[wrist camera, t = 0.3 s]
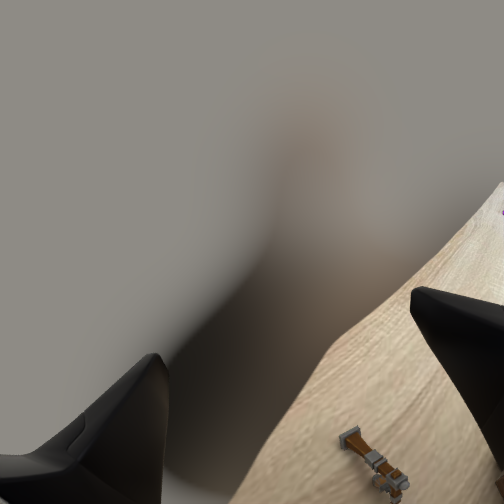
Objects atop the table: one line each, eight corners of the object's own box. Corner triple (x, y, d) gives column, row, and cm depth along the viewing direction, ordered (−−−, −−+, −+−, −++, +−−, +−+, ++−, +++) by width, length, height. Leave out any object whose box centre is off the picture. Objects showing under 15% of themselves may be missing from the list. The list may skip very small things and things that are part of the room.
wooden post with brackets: (393, 516, 9) (396, 490, 9) (344, 465, 17) (338, 433, 17) (413, 502, 10) (419, 473, 9) (361, 455, 17) (357, 423, 17)
